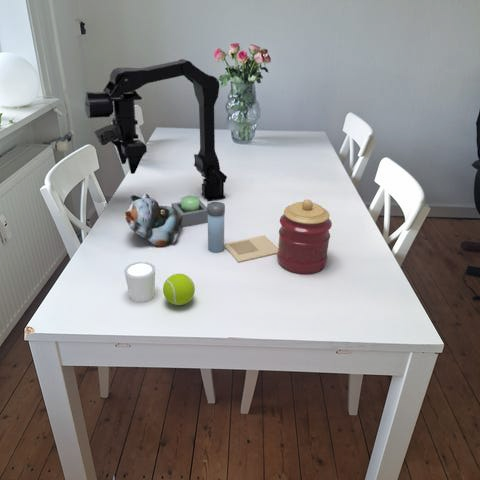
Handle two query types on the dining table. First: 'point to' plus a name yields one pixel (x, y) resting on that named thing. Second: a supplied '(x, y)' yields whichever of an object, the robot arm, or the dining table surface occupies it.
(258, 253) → the kraft sheet
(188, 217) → the button box
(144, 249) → the dining table surface
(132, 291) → the white cylinder
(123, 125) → the robot arm
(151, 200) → the lucky cat figurine
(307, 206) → the canister
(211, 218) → the water bottle
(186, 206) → the button
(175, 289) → the tennis ball
